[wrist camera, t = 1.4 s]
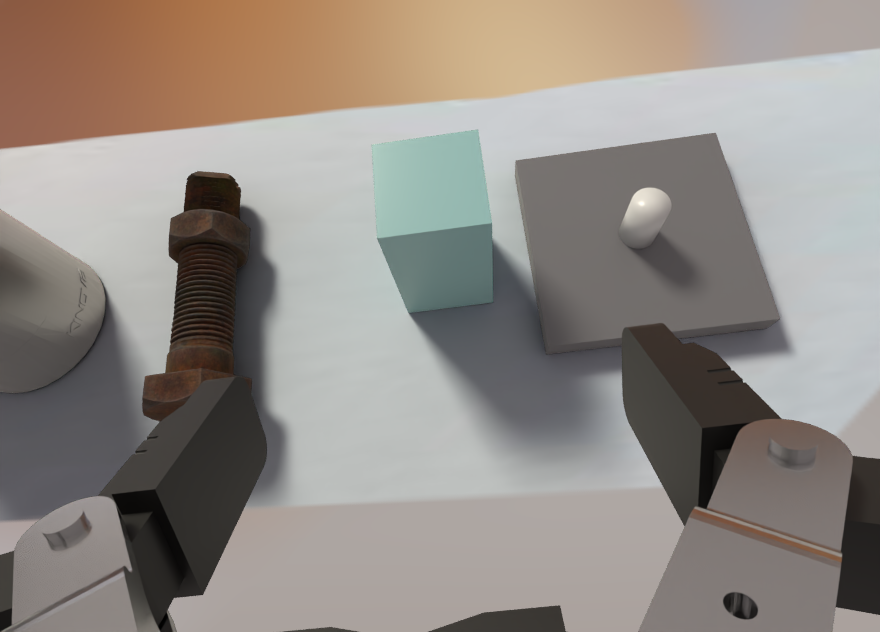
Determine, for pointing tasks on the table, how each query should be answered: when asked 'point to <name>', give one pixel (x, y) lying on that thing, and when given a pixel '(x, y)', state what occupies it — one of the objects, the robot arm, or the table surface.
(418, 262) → the block
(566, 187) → the base plate
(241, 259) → the bolt
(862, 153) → the table surface
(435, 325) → the table surface
